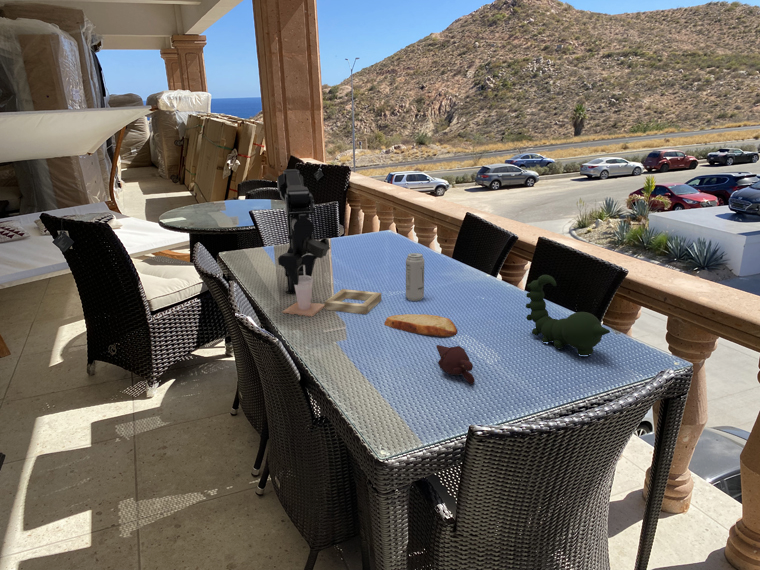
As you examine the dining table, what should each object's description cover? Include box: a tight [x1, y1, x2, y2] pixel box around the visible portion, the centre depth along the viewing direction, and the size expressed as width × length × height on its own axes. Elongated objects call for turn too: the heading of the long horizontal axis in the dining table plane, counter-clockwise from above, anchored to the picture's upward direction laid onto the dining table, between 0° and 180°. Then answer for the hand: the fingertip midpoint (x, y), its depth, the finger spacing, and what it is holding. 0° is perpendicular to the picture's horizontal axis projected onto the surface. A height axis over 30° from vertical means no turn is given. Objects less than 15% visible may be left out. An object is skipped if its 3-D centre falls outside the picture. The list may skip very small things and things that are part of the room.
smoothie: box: [294, 265, 314, 310], centre depth 164 cm, size 6×6×14 cm
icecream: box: [435, 344, 476, 385], centre depth 124 cm, size 7×7×15 cm
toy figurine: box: [525, 274, 611, 355], centre depth 135 cm, size 9×19×25 cm
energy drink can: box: [405, 252, 425, 302], centre depth 174 cm, size 6×6×15 cm
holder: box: [323, 288, 382, 315], centre depth 170 cm, size 14×14×2 cm
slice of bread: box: [383, 313, 458, 338], centre depth 151 cm, size 18×18×4 cm
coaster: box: [282, 301, 325, 318], centre depth 167 cm, size 10×10×1 cm
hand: (303, 280), depth 164 cm, fingers open, 8 cm apart
